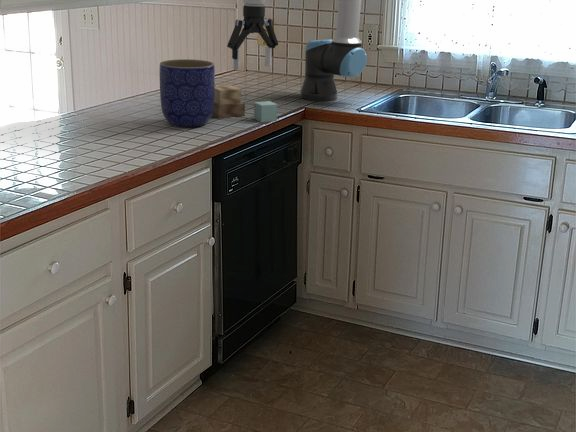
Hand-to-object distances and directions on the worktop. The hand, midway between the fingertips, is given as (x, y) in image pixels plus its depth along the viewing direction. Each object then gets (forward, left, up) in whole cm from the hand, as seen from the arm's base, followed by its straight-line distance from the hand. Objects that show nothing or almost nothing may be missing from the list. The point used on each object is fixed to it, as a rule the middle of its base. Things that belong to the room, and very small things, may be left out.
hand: (252, 67), depth 284 cm
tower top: (+7, -8, -13) cm, 17 cm away
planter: (+25, +1, -18) cm, 31 cm away
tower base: (+7, -8, -18) cm, 21 cm away
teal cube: (-3, +4, -18) cm, 19 cm away
